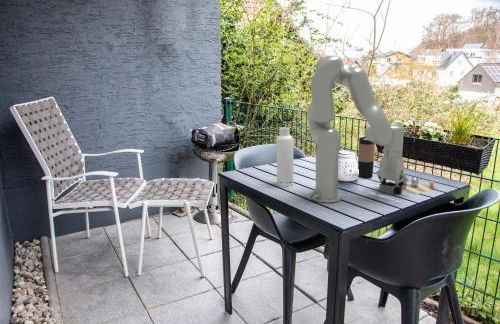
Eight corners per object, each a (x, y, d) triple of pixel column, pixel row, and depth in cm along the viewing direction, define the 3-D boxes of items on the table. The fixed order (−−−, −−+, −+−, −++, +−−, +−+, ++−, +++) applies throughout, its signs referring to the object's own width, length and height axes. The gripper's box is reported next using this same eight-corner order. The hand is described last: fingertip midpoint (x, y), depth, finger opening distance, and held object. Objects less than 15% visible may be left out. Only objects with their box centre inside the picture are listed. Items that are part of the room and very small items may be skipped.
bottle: (292, 187, 185) (292, 129, 178) (275, 186, 186) (274, 129, 179) (294, 182, 192) (293, 126, 185) (278, 181, 194) (277, 126, 187)
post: (415, 187, 174) (415, 179, 173) (409, 186, 176) (410, 178, 175) (419, 186, 175) (420, 178, 174) (413, 185, 178) (414, 176, 177)
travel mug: (355, 177, 196) (357, 139, 191) (359, 174, 202) (360, 136, 197) (371, 179, 192) (373, 140, 187) (374, 175, 199) (376, 137, 194)
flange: (391, 197, 166) (392, 188, 165) (379, 193, 172) (379, 184, 171) (410, 191, 173) (411, 182, 171) (397, 188, 178) (398, 178, 177)
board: (415, 197, 166) (415, 194, 165) (390, 189, 176) (390, 187, 176) (436, 190, 173) (436, 187, 173) (410, 183, 184) (411, 181, 184)
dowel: (431, 189, 171) (432, 181, 171) (428, 188, 173) (429, 180, 172) (433, 188, 172) (434, 181, 171) (430, 187, 174) (431, 180, 173)
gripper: (371, 151, 171) (369, 189, 176) (404, 158, 157) (401, 199, 161) (382, 149, 175) (380, 186, 179) (416, 155, 161) (413, 196, 165)
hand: (390, 192), depth 170 cm, fingers closed on flange, 6 cm apart
